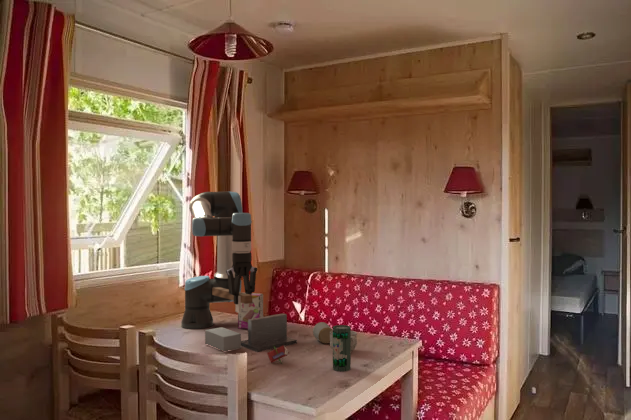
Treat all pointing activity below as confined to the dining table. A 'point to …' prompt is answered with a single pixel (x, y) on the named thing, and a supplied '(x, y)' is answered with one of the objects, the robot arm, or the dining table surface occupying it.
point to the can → (341, 348)
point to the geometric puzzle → (277, 353)
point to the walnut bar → (225, 294)
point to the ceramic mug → (322, 332)
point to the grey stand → (223, 339)
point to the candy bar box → (251, 311)
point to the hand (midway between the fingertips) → (242, 311)
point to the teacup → (353, 339)
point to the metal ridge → (267, 333)
